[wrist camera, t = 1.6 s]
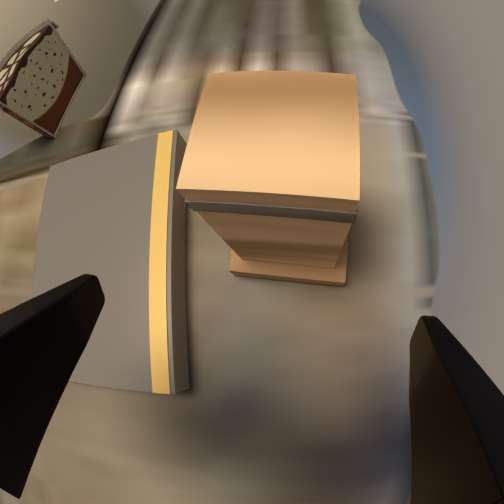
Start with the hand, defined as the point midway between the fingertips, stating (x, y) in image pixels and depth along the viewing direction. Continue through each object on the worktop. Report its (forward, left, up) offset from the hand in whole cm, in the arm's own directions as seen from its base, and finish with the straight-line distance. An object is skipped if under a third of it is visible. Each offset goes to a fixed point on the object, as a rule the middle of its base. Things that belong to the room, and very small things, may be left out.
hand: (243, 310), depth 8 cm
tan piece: (+6, -1, -12) cm, 14 cm away
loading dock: (+5, +13, -12) cm, 18 cm away
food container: (+25, +25, -13) cm, 37 cm away
